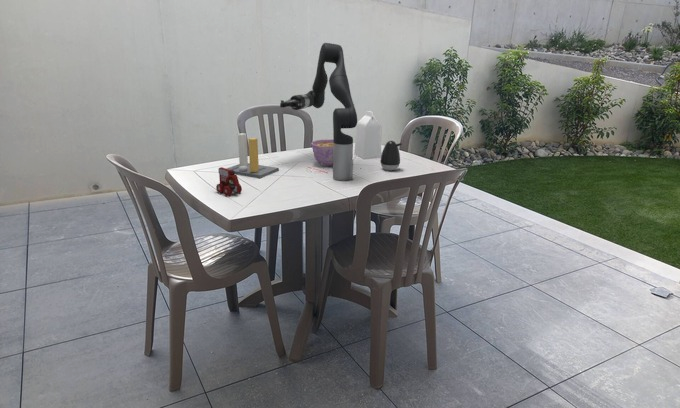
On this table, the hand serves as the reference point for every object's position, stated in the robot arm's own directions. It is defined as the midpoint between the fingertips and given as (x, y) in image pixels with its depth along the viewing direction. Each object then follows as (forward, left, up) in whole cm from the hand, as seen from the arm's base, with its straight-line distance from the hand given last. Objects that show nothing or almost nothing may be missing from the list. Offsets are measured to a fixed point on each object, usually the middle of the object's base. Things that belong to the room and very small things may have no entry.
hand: (281, 105), depth 216 cm
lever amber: (+13, +13, -30) cm, 36 cm away
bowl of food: (-24, -8, -32) cm, 41 cm away
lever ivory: (+20, +1, -30) cm, 36 cm away
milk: (-48, -27, -32) cm, 63 cm away
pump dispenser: (-55, +3, -32) cm, 64 cm away
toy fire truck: (+20, +41, -32) cm, 56 cm away
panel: (+16, +7, -32) cm, 36 cm away
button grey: (+19, +11, -31) cm, 38 cm away
